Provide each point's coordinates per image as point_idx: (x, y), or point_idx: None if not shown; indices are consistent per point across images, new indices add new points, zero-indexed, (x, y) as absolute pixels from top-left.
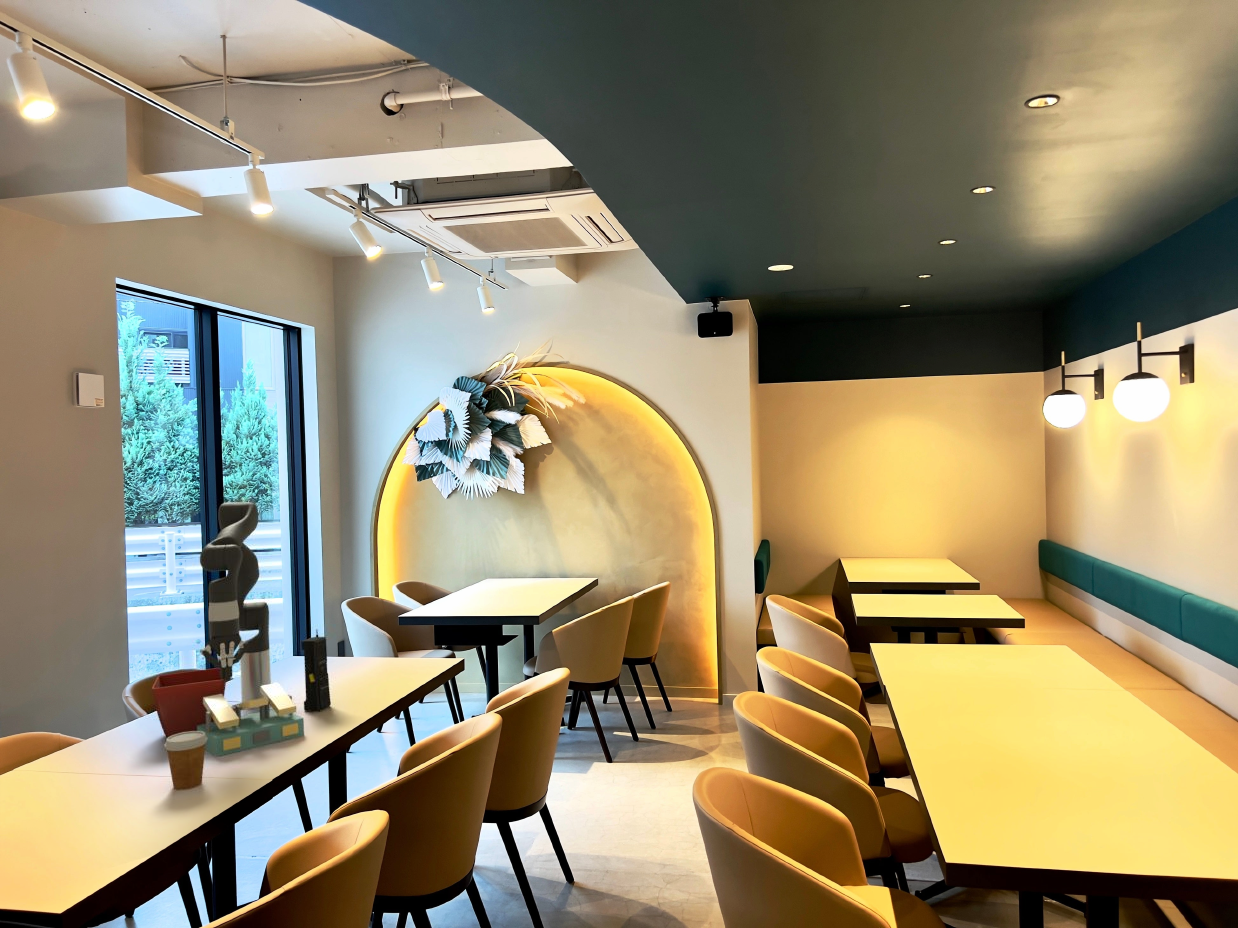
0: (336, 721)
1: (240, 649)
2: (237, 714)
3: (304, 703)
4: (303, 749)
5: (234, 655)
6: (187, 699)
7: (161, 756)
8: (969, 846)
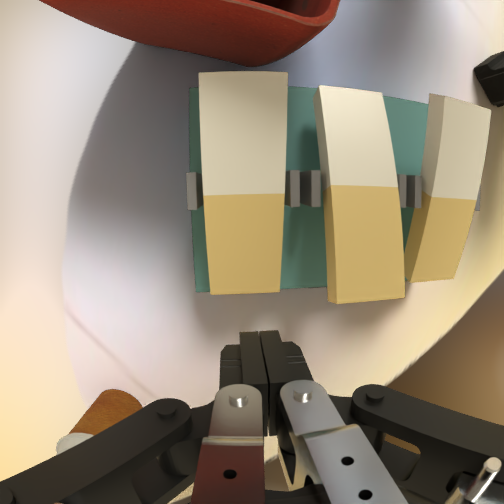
0: (491, 215)
1: (460, 464)
2: (303, 190)
3: (484, 66)
4: (365, 368)
5: (393, 425)
6: (156, 17)
7: (93, 160)
8: None
